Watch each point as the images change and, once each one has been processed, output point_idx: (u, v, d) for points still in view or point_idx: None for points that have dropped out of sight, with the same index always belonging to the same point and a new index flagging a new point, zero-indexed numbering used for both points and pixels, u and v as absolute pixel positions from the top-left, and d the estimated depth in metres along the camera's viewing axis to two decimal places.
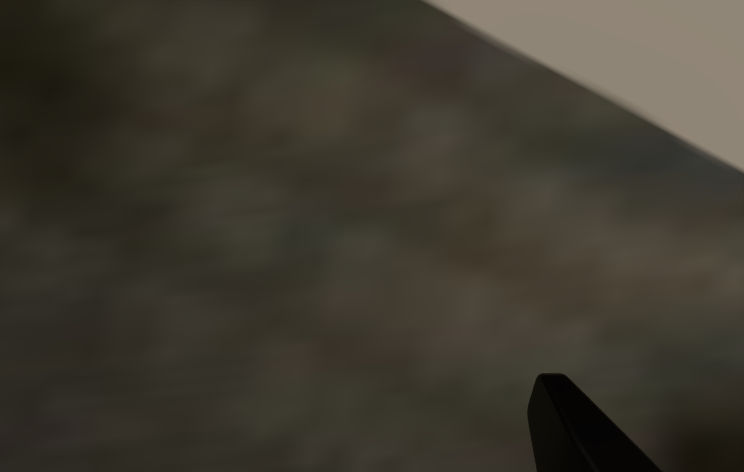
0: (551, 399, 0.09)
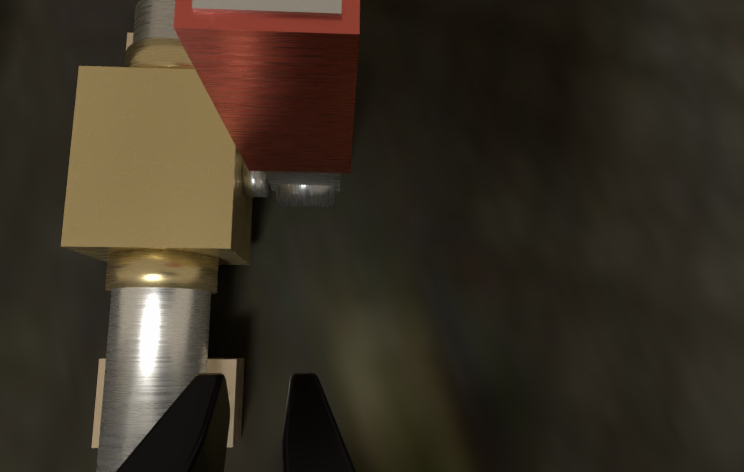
0: (287, 399, 0.08)
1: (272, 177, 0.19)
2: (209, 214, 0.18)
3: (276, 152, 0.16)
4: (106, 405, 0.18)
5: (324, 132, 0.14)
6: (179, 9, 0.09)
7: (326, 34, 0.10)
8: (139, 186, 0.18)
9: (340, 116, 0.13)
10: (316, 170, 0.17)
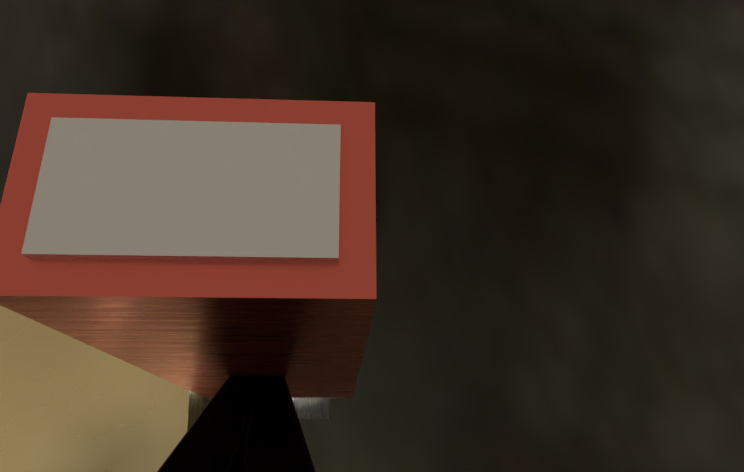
0: (252, 400, 0.08)
1: None
2: (152, 467, 0.13)
3: None
4: None
5: (312, 376, 0.09)
6: None
7: (306, 300, 0.05)
8: (54, 427, 0.13)
9: (337, 366, 0.08)
10: (303, 396, 0.12)
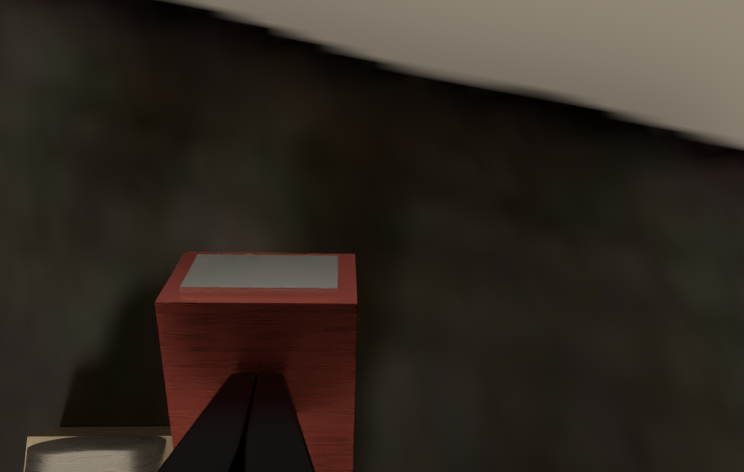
0: (252, 399, 0.08)
1: None
2: None
3: None
4: None
5: None
6: (166, 291, 0.09)
7: (320, 305, 0.09)
8: None
9: None
10: None
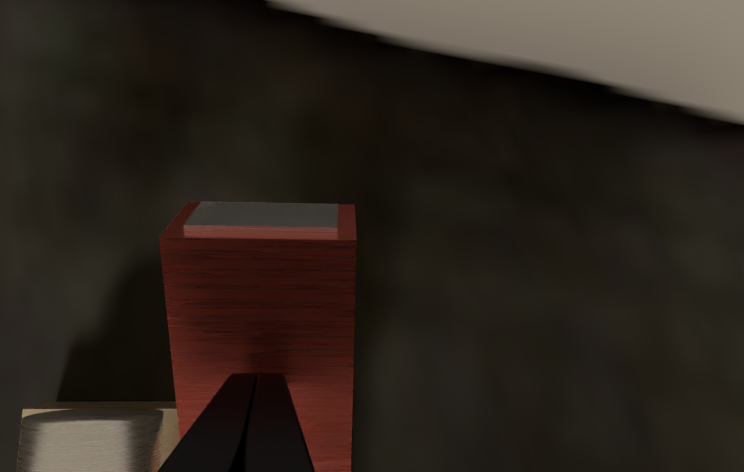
0: (252, 399, 0.08)
1: None
2: None
3: None
4: None
5: None
6: (170, 229, 0.09)
7: (322, 241, 0.09)
8: None
9: (334, 428, 0.10)
10: None
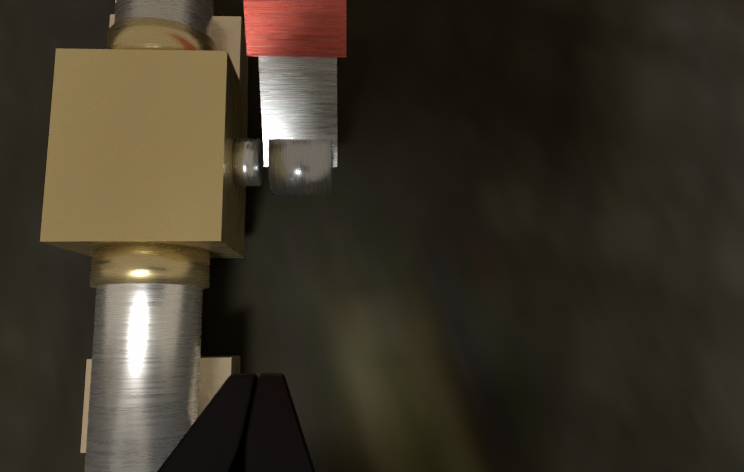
0: (252, 399, 0.08)
1: (267, 112, 0.18)
2: (197, 204, 0.17)
3: None
4: (92, 409, 0.17)
5: None
6: None
7: None
8: (122, 176, 0.17)
9: None
10: (313, 49, 0.18)
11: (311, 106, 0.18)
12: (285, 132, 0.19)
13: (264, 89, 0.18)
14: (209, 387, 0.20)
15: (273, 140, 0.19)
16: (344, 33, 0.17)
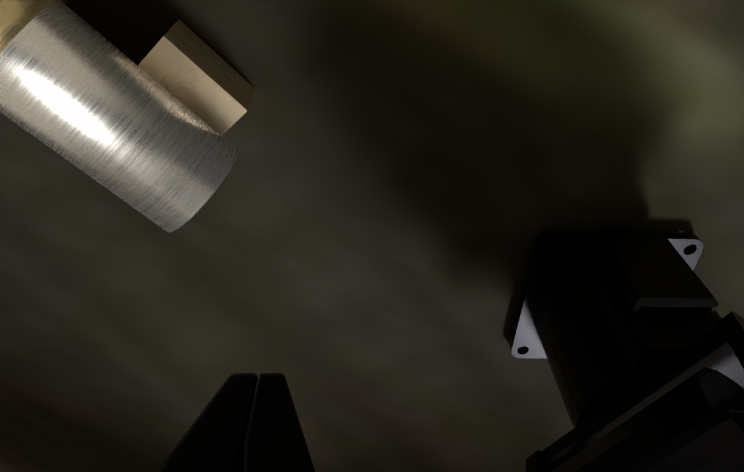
0: (252, 400, 0.08)
1: None
2: None
3: None
4: (104, 186, 0.16)
5: None
6: None
7: None
8: None
9: None
10: None
11: None
12: None
13: None
14: (177, 78, 0.17)
15: None
16: None
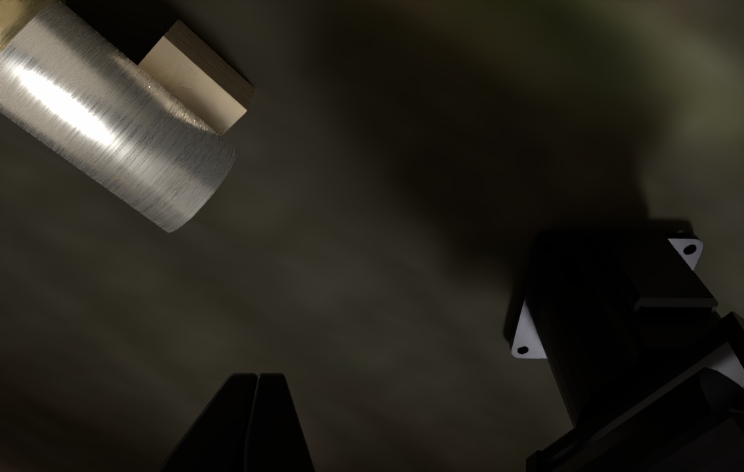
0: (252, 400, 0.08)
1: None
2: None
3: None
4: (104, 186, 0.16)
5: None
6: None
7: None
8: None
9: None
10: None
11: None
12: None
13: None
14: (176, 78, 0.17)
15: None
16: None
